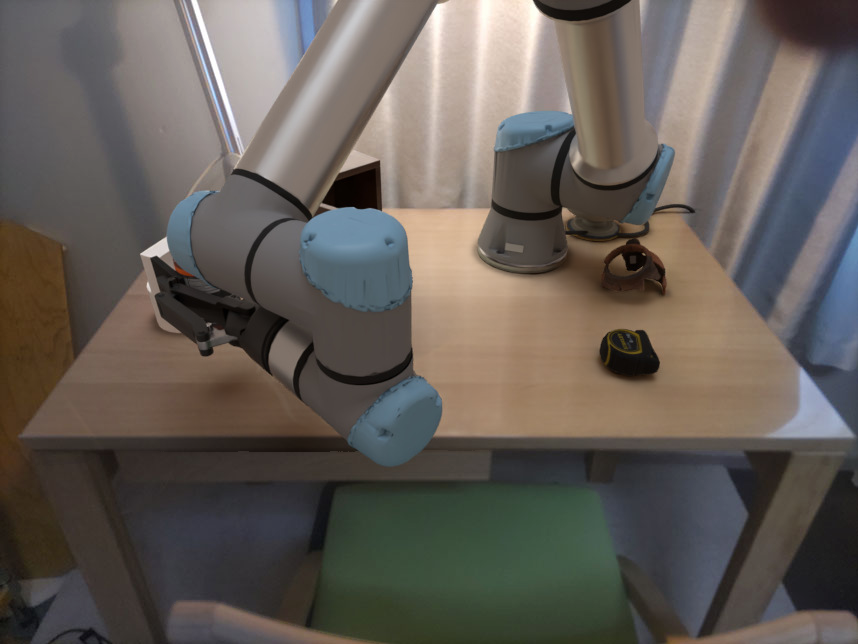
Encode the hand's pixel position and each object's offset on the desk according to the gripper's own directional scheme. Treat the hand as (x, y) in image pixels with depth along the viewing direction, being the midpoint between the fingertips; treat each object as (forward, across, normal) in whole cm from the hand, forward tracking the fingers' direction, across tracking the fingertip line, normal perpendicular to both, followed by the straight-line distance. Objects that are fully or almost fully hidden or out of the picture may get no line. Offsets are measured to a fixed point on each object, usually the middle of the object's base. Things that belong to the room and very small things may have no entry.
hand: (184, 257), depth 69 cm
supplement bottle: (-5, 0, -6) cm, 8 cm away
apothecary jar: (-12, +70, -17) cm, 73 cm away
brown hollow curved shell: (-27, +57, -17) cm, 65 cm away
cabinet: (+10, +25, -16) cm, 31 cm away
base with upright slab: (+13, +3, -16) cm, 21 cm away
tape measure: (-37, +40, -16) cm, 57 cm away
